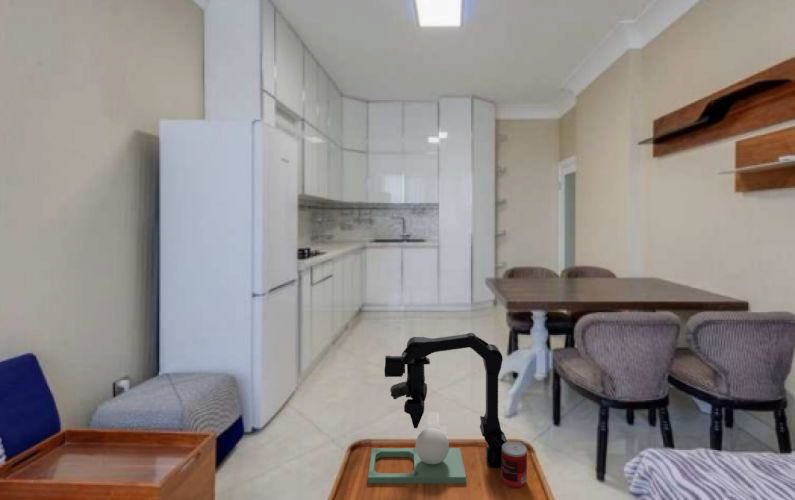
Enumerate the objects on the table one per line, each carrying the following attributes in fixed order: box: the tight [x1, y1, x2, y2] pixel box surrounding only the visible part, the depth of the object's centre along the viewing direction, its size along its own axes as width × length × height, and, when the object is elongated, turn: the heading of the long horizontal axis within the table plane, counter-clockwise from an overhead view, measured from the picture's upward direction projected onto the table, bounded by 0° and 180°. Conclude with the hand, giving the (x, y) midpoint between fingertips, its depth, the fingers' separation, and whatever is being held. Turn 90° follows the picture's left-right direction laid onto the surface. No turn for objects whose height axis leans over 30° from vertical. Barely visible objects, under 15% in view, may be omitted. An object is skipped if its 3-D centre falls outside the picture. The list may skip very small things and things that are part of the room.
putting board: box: [367, 447, 467, 484], centre depth 150 cm, size 31×17×2 cm, turn 89°
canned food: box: [500, 441, 528, 489], centre depth 142 cm, size 8×8×11 cm
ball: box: [415, 427, 450, 464], centre depth 149 cm, size 11×11×11 cm
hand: (416, 421), depth 152 cm, fingers open, 9 cm apart
